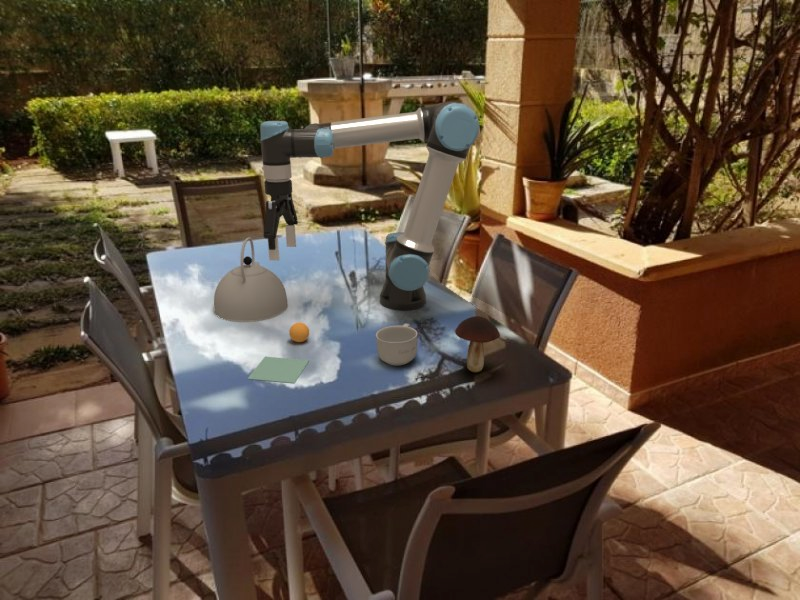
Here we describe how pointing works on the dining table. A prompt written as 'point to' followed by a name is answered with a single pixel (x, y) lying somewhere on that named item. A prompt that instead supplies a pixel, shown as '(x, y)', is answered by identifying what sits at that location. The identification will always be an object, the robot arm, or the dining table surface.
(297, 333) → the ball
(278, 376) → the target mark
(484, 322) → the decorative mushroom
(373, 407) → the dining table surface
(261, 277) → the kettle
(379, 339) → the teacup
